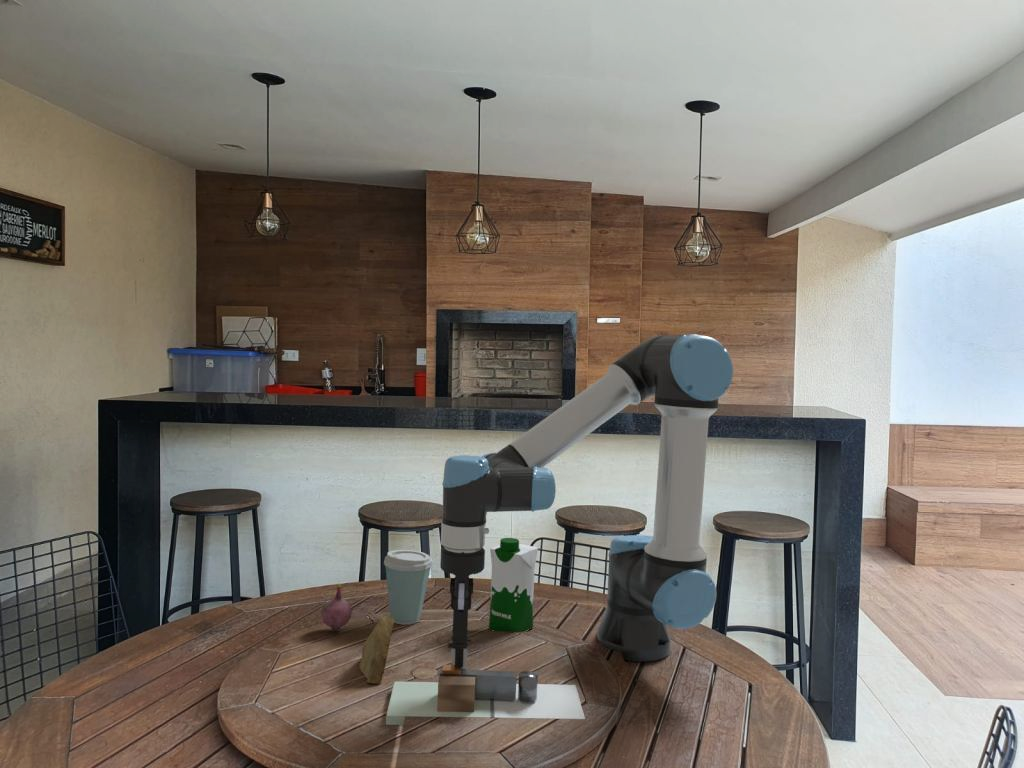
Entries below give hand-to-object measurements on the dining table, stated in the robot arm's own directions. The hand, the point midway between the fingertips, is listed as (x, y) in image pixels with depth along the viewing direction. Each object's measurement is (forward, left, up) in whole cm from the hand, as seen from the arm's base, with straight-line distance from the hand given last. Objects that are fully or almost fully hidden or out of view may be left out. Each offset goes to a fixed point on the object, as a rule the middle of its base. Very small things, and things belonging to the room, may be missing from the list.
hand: (458, 682), depth 127 cm
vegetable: (+26, -29, -3) cm, 39 cm away
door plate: (-5, +3, -3) cm, 6 cm away
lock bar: (-5, +2, -1) cm, 6 cm away
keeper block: (0, +6, -2) cm, 6 cm away
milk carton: (-11, -32, -3) cm, 34 cm away
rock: (+16, -10, -3) cm, 20 cm away
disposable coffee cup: (+12, -36, -3) cm, 38 cm away
